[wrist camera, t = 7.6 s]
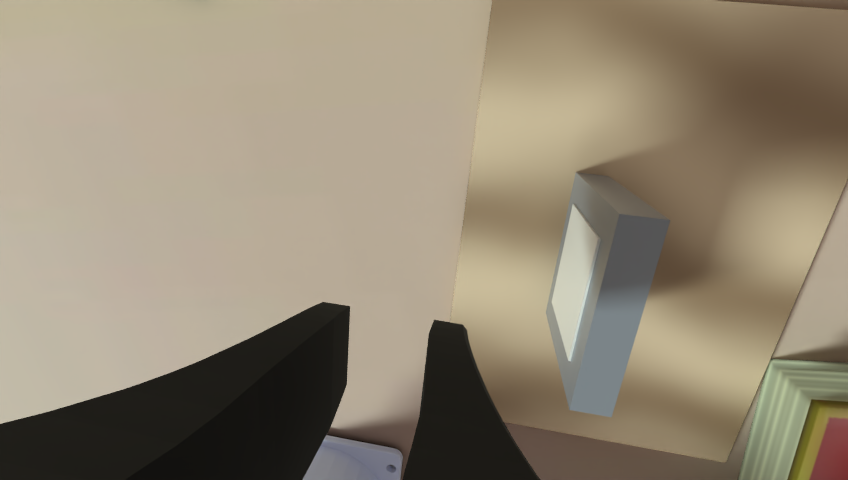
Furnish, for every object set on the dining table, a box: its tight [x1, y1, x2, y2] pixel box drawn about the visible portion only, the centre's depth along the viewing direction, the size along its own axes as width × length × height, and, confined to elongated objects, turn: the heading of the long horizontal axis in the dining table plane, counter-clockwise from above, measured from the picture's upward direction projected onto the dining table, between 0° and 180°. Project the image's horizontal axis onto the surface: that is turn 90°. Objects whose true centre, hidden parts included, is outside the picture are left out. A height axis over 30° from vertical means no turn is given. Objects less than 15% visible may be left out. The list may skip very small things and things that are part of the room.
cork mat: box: [450, 0, 848, 463], centre depth 17 cm, size 18×13×1 cm
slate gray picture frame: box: [546, 172, 670, 417], centre depth 14 cm, size 6×1×6 cm, turn 175°
